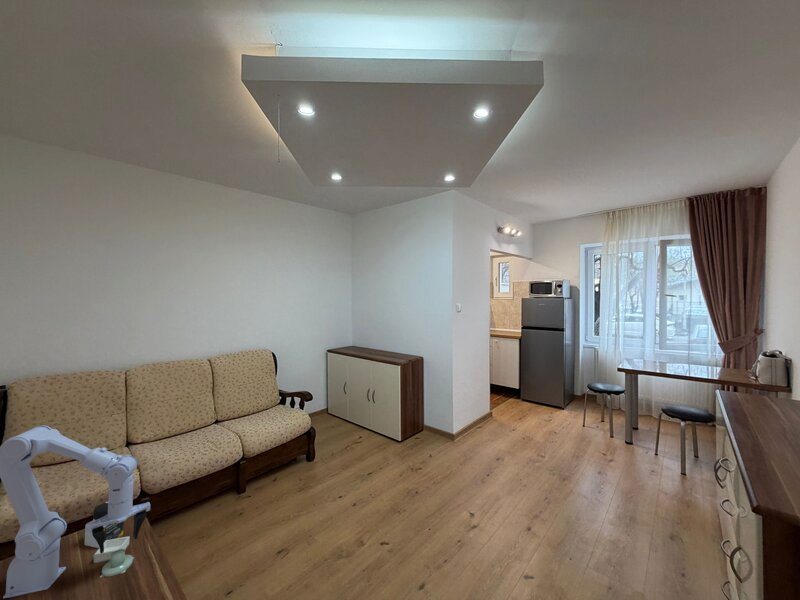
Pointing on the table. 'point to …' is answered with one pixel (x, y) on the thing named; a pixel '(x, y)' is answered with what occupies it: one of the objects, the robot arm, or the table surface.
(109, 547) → the dish
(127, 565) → the lid
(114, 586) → the table surface
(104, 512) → the medicine bottle
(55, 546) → the robot arm
